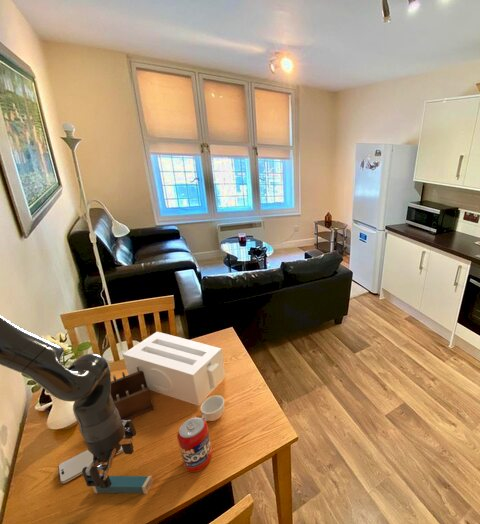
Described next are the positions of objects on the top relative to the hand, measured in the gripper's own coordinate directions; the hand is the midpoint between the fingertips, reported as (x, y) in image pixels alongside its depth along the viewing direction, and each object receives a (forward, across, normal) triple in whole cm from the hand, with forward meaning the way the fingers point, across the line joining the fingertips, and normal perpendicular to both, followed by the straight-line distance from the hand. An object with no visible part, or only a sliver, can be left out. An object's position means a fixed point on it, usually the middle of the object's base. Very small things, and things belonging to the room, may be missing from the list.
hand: (118, 468), depth 78 cm
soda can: (+8, -8, +17) cm, 20 cm away
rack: (+8, -26, -17) cm, 32 cm away
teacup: (+8, -23, +15) cm, 28 cm away
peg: (+8, 0, 0) cm, 8 cm away
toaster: (+9, -39, -4) cm, 40 cm away
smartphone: (+8, -8, -15) cm, 18 cm away
